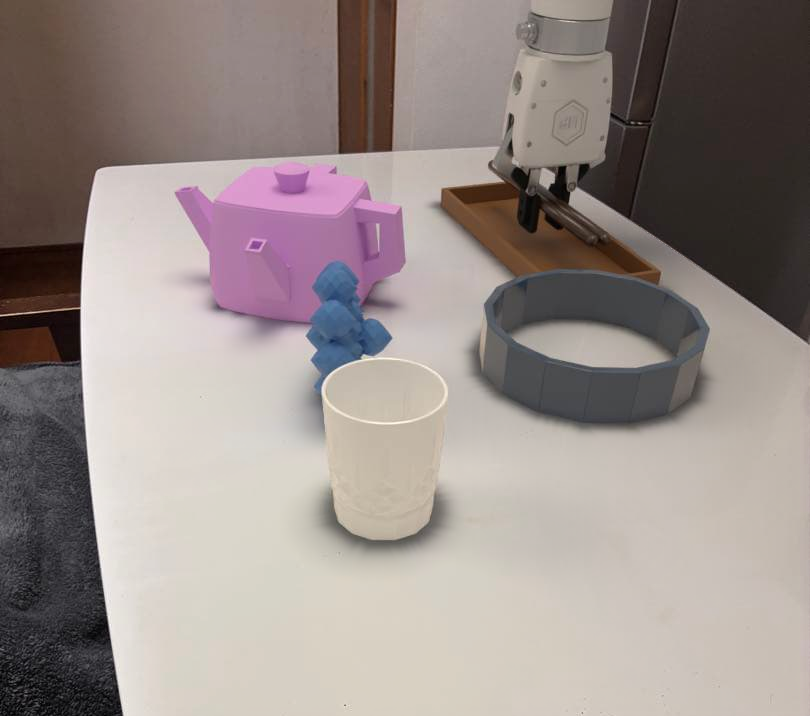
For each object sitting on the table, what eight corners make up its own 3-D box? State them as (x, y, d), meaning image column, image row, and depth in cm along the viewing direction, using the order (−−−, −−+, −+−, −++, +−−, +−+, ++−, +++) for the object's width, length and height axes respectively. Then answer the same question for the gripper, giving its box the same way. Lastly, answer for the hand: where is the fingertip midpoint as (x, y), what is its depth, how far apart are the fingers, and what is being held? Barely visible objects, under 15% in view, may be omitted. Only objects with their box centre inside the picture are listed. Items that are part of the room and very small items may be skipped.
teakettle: (416, 311, 83) (421, 180, 75) (254, 353, 76) (240, 214, 68) (333, 248, 93) (329, 127, 85) (184, 280, 86) (165, 152, 78)
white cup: (393, 567, 55) (396, 439, 49) (303, 518, 59) (294, 392, 52) (461, 507, 60) (473, 384, 54) (374, 465, 64) (375, 344, 57)
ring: (562, 301, 85) (570, 252, 82) (732, 370, 76) (749, 319, 72) (436, 365, 75) (439, 312, 72) (614, 455, 66) (627, 399, 62)
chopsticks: (505, 167, 101) (506, 157, 100) (611, 246, 84) (614, 234, 83) (485, 169, 100) (486, 158, 99) (588, 249, 83) (590, 237, 82)
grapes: (390, 444, 66) (393, 298, 58) (302, 442, 66) (293, 296, 58) (392, 367, 75) (395, 231, 67) (314, 365, 74) (308, 229, 66)
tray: (440, 209, 103) (441, 187, 102) (530, 198, 107) (532, 178, 105) (550, 311, 84) (553, 287, 82) (656, 294, 87) (661, 271, 85)
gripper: (507, 48, 76) (487, 248, 89) (661, 40, 81) (622, 232, 93) (473, 30, 82) (459, 222, 94) (619, 24, 86) (587, 207, 98)
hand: (540, 225), depth 93 cm, fingers closed on chopsticks, 2 cm apart
